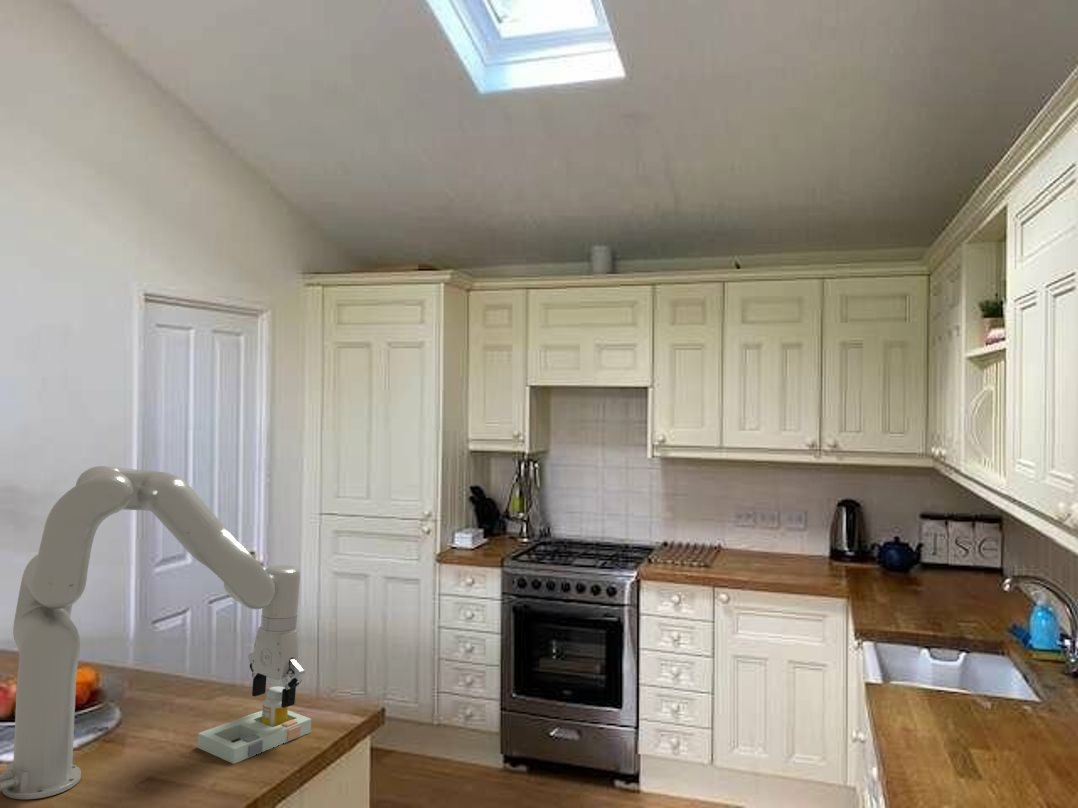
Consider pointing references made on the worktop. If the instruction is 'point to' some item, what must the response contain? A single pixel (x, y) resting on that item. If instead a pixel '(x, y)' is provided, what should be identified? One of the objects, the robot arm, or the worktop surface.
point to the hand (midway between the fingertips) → (273, 700)
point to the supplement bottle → (274, 708)
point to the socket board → (251, 736)
